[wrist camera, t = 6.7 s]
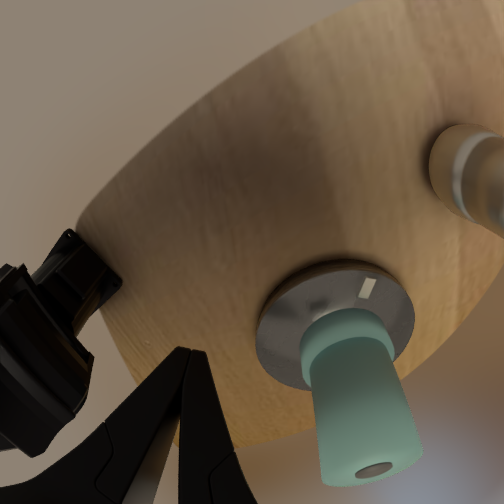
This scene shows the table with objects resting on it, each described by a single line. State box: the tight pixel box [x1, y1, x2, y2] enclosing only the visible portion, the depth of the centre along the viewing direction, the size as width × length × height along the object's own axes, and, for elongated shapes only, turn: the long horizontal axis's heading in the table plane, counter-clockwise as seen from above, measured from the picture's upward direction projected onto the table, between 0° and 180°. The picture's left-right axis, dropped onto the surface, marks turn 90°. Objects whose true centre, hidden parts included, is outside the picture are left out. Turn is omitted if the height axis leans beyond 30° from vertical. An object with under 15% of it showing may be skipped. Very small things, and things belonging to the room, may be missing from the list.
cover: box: [299, 308, 423, 487], centre depth 17 cm, size 7×7×11 cm
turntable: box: [256, 264, 415, 391], centre depth 22 cm, size 13×13×1 cm
